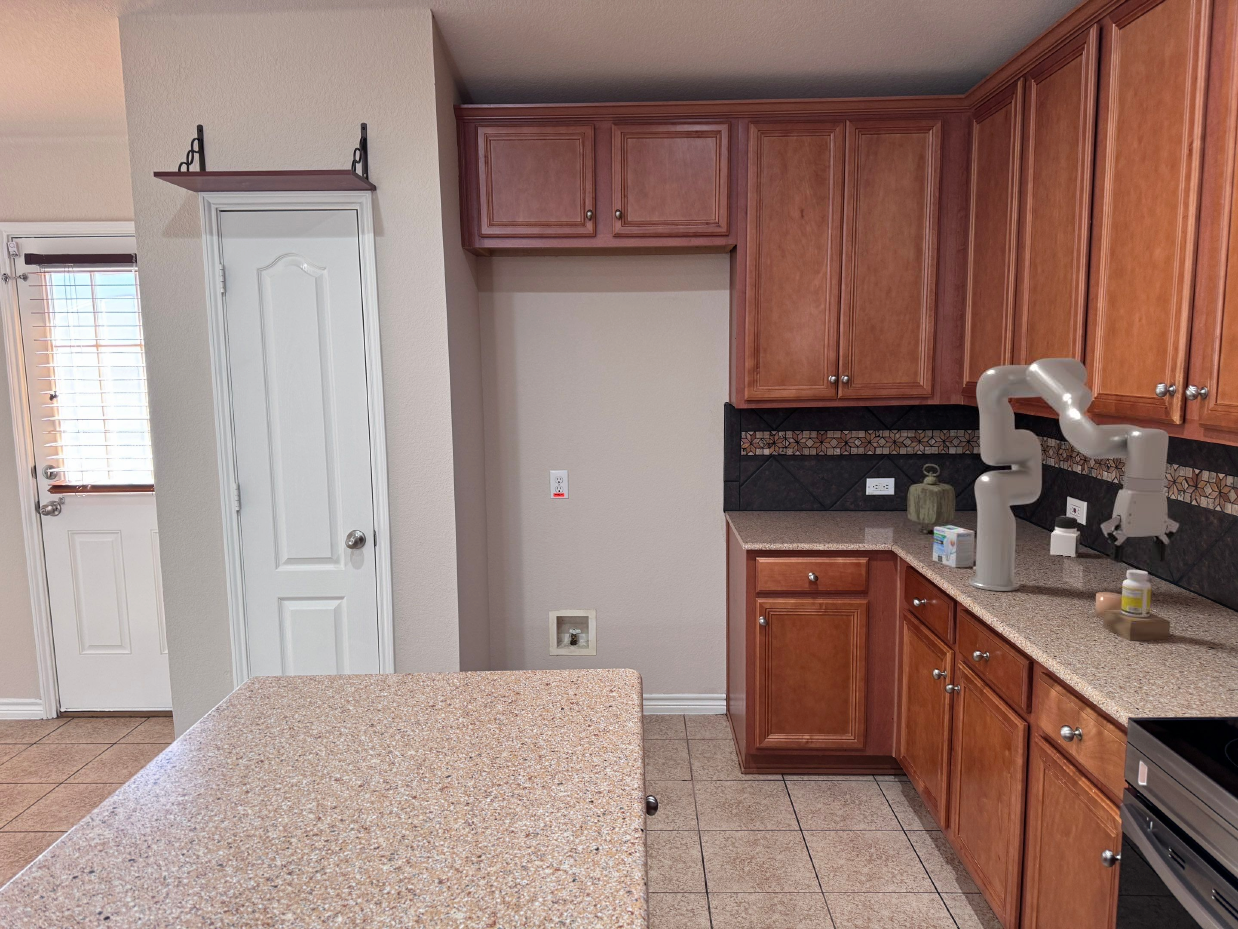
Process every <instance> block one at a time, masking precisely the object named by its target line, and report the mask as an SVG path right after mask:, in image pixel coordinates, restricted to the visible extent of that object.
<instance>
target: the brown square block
mask: <svg viewBox="0 0 1238 929" xmlns="http://www.w3.org/2000/svg"><path fill="white" fill-rule="evenodd" d="M1102 619H1103V620H1102V628H1103V629H1105V630H1107V631H1109V632H1111V633H1113V634H1115V635H1118V636H1119V637H1121V638H1123V639H1126V640H1128V641H1147V640H1149V641H1151V640H1169V639H1170V627H1171V621H1170V620H1168V619H1166V618H1163V617H1162V616H1159V615H1156V614H1154V613H1151V612H1150V615H1149V616H1148V617H1131V616H1127V615H1125V614H1123V613H1122V612H1121V610H1107V611H1104V615H1103V618H1102Z"/></svg>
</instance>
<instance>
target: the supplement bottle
mask: <svg viewBox="0 0 1238 929" xmlns="http://www.w3.org/2000/svg"><path fill="white" fill-rule="evenodd" d="M1126 578H1127V579H1124V580H1123V582H1122V586H1121V591H1122V592H1121V595H1122V607H1121V612H1122V613H1123V614H1125V615H1127V616H1131V617H1148V616H1149V615H1150V613H1151V596H1152V595H1151V594H1152V585H1151V583H1150V582H1149V581H1147V580H1148V578H1149V573H1148V571H1145V570H1139V569H1127V571H1126Z"/></svg>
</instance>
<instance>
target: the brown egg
mask: <svg viewBox="0 0 1238 929" xmlns="http://www.w3.org/2000/svg"><path fill="white" fill-rule="evenodd" d="M1121 607H1122V593H1116V592H1110V591H1109V592H1108V591H1101V592H1099V591H1098V592H1096V594H1095V610H1094V614H1095V616H1097V617H1099V618H1102V619H1103V615H1104V611H1107V610H1121Z"/></svg>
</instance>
